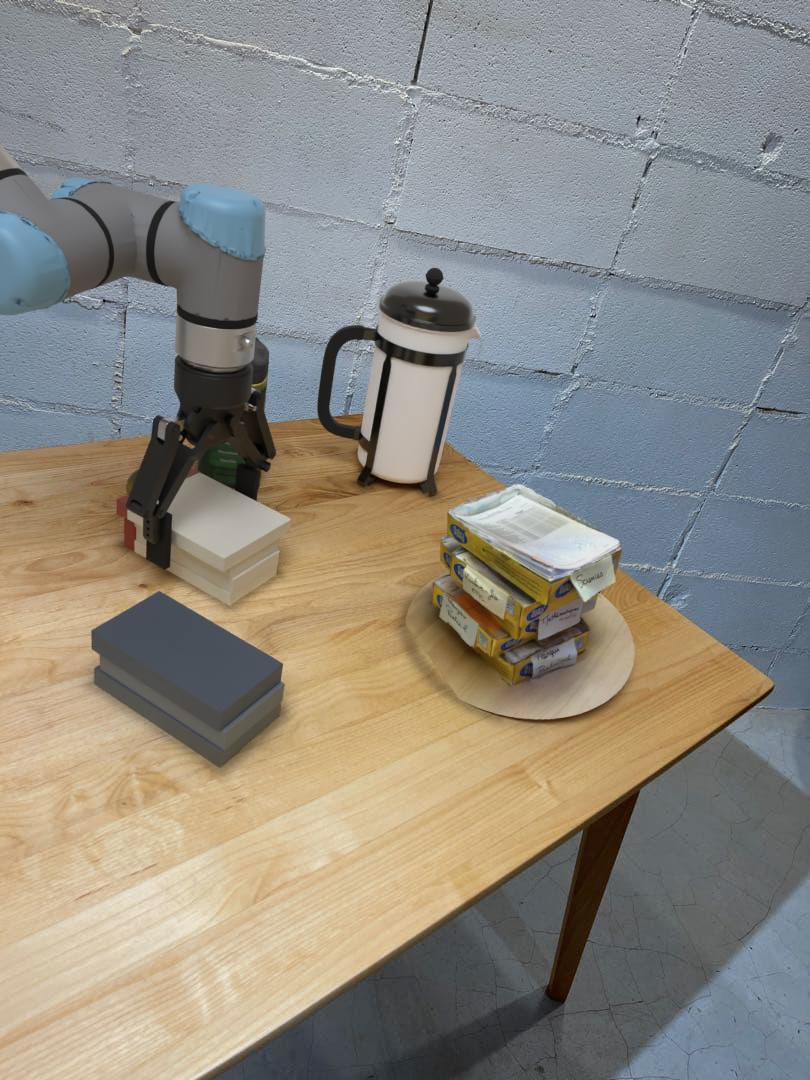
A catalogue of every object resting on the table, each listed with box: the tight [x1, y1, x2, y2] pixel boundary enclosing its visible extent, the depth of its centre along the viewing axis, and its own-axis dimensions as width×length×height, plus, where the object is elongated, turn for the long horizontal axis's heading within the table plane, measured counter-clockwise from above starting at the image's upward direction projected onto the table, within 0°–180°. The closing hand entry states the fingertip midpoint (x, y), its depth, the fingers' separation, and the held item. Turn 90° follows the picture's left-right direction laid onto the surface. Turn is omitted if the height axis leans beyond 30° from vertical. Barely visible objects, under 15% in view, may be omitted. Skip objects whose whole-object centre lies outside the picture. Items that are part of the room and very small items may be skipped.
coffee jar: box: [197, 336, 270, 488], centre depth 106 cm, size 10×8×19 cm
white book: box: [116, 467, 292, 572], centre depth 89 cm, size 15×11×2 cm
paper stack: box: [405, 483, 636, 720], centre depth 86 cm, size 25×25×17 cm
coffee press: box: [316, 267, 483, 497], centre depth 110 cm, size 17×16×30 cm
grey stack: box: [90, 590, 286, 769], centre depth 73 cm, size 15×8×7 cm, turn 59°
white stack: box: [123, 517, 281, 606], centre depth 91 cm, size 16×8×5 cm, turn 59°
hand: (203, 538), depth 91 cm, fingers open, 13 cm apart
